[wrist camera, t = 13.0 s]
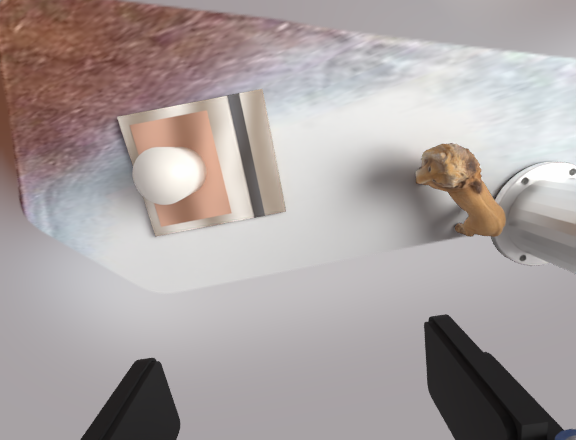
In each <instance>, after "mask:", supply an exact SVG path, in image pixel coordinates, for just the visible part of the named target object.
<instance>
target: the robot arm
mask: <svg viewBox="0 0 576 440" xmlns="http://www.w3.org/2000/svg"><path fill="white" fill-rule="evenodd" d="M495 201H496V202H497V204H498V205H499V206H501V208H502V209H503V210H504V213H505V217H506V222H505V226H504V227H503V230H502V232H501V234H500V235H499V236H496V237H492V236H491V239H492V241H493V244H494V245H495V247H496V248H497V250H498V251H499V252H500V253H501V254H503V255H504V256H505V257H507V258H509V259H510V260H512V261H514V262H517V263H519V264H523V265H529V266H539V265H544V264H549V263H551V264H553V265H556V266H558V267H560V268H563V269H565V270H567V271H570V272H572V273H574V274H576V165H573V164H570V163H564V162H544V163H539V164H535V165H533V166H530V167H528V168H526V169H524V170H522V171H521V172H519V173H517V174H516V175H515V176H514V177H513V178H511V179H510V180H509V181H508V182H507V183H506V185H505V186H504V187H503V188H502V189H501V191H500V192H499V194H498V195H497V197H496V199H495ZM424 329H425V348H426V365H427V383H428V389H429V393H430V395H431V397H432V399H433V401H434V403H435V405H436V406H437V408H438V410H439V412H440V414H441V415H442V417H443V419H444V421H445V422H446V424H447V426H448V428H449V429H450V431H451V433H452V435H453V437H454V438H455V440H576V429H568V430H563V429H562V428H561V427H560V425H559V424H557V422H556V421H555V420H554V419H553V418H552V417H551V416H550V415H549V414H548V413H547V412H546V411H545V410H544V409H543V408H542V407H541V406H540V405H539V404H538V403H537V402H536V401H535V399H534V398H533V397H532V396H531V395H530V394H529V393H528V392H527V391H526V390H525V389H524V388H523V387H522V386H521V385H520V384H519V383H518V382H517V381H516V380H515V379H514V378H513V377H512V376H511V374H510V373H508V371H507V370H506V369H505V368H504V367H503V366H502V365H501V364H500V363H499V362H498V361H497V360H496V359H495V358H494V357H493V356H492V355H491V354H489V353H487V352H482V351H481V349H480V348H479V347H478V346H477V345H476V344H475V343H474V342H473V341H472V340H471V339H470V338H469V337H468V335H467V334H466V333H465V332H464V331H463V330H462V329H461V328H460V327H459V326H458V325H457V324H456V323H455V322H454V320H453V319H452V318H451V317H450V316H449V315H439V316H432V317H430V318H429V322H425V323H424ZM179 430H180V419H179V416H178V413H177V410H176V407H175V404H174V401H173V398H172V395H171V392H170V389H169V386H168V383H167V380H166V377H165V374H164V371H163V368H162V365H161V363H160V362H159V361H156V359H155V358H148V359H141V360H137V361H135V362H134V364H133V365H132V366H131V368H130V369H129V371H128V372H127V374H126V375H125V376H124V378H123V379H122V381H121V382H120V384H119V385H118V387H117V388H116V389H115V391H114V392H113V394H112V395H111V397H110V398H109V400H108V401H107V403H106V404H105V405H104V407H103V408H102V410H101V411H100V413H99V414H98V416H97V417H96V418H95V420H94V421H93V423H92V424H91V426H90V427H89V429H88V430H87V431H86V433H85V434H84V435H83V437H82V438H81V440H176V438H177V436H178V433H179Z"/></svg>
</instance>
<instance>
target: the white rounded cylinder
mask: <svg viewBox="0 0 576 440" xmlns="http://www.w3.org/2000/svg"><path fill="white" fill-rule="evenodd" d="M206 174H207V171H206V166H205V163H204V161H203V159H202V158H201V156H200V155H199V154H198V153H196V152H195V151H194V150H192V149H189V148H186V147H154V148H150V149H147V150H145V151H144V152H142V153H141V154H140V155H139V156H138V157H137V159H136V161H135V163H134V166H133V171H132V175H133V181H134V184H135V186H136V188H137V190H138V191H139V192H140V194H141V195H142V196H143V197H145V198H146V199H147V200H149V201H151V202H153V203H156V204H160V205H169V204H173V203H176V202H178V201H180V200H182V199H183V198H185V197H187V196H189V195H190V194H192V193H194V192H196V191H197V190H199V189H200V188H201V187H202V185H203V184H204V182H205V179H206Z"/></svg>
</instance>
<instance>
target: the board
mask: <svg viewBox="0 0 576 440" xmlns="http://www.w3.org/2000/svg"><path fill="white" fill-rule="evenodd" d="M117 118H118V121H119V125H120V128H121V131H122V134H123V137H124V140H125V143H126V146H127V149H128V153H129V156H130V159H131V162H132V165H133V166H134V163H135V161H136V159H137V157H138V156H139V155H140V154H141V153H142V152H144V151H145V150H147V149H150V148H154V147H186V148H189V149H192V150H194V151H195V152H196V153H198V154H199V155H200V156H201V158H202V159H203V161H204V163H205V166H206V171H207V174H206V179H205V182H204V184H203V185H202V187H201V188H200V189H199V190H197V191H196V192H194V193H192V194H190V195H189V196H187V197H185V198H183V199H182V200H180V201H178V202H176V203H173V204H169V205H160V204H156V203H153V202H151V201H149V200H147V199H146V198H145V197H143V199H144V202H145V205H146V208H147V211H148V215H149V218H150V221H151V224H152V227H153V230H154V233H155V236H161V235H167V234H172V233H177V232H182V231H187V230H192V229H198V228H203V227H208V226H213V225H218V224H223V223H229V222H234V221H239V220H244V219H249V218H256V217H261V216H265V215H270V214H275V213H280V212H286V209H285V204H284V199H283V193H282V188H281V183H280V178H279V173H278V167H277V162H276V157H275V152H274V147H273V142H272V136H271V131H270V126H269V121H268V116H267V111H266V105H265V100H264V95H263V90H262V89H260V90H254V91H249V92H244V93H238V94H233V95H228V96H223V97H218V98H213V99H208V100H203V101H197V102H192V103H187V104H182V105H177V106H171V107H166V108H161V109H156V110H151V111H146V112H140V113H135V114H130V115H125V116H120V117H117Z"/></svg>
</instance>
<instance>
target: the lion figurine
mask: <svg viewBox="0 0 576 440" xmlns="http://www.w3.org/2000/svg"><path fill="white" fill-rule="evenodd" d="M421 160H422V167H420V168H419V169H418V170H417V171H416V172H415V173H416V183H417V184H423V185H429V186H431V187H433V188H435V189H439V190H443V191H447V192H448V193H449V195H450V196H451V197H452V199H453V200H454V201H455V202H456V203H457V204H458V205H459V206H460V208H462V209H463V210H464V211H466V212H467V213H468V215H469V217H468V218H467V219H466V220H465V222H464V223H463V224H462V223H458V224H457V225H456V226H455V230H456V231H457V232H458V233H461V234H465V235H466V236H473V235H474V234H478V235H482V236H492V237H496V236H499V235H500V234H501V232H502V230H503V227H504V226H505V222H506V217H505V213H504V210H503V209H502V208H501V206H499V205H498V204H497V202H496V201H495V200H494V199H493V197H492V195H491V194H490V192H489V190H488V189H487V187H486V185H485V184H484V182H483V181H482V180H481V174H480V172H481V168H479V166H480V164H479V163H478V160H477V159H476V158H475V157H474V154H472V153H471V152H470V151H469V149H465V148H463V147H461V146H459V145H457V144H453V143H450V144H441V145H438V146H436V147H433V148H431V149H429V150H426V151H425V152H424V153H423V154H422V159H421Z"/></svg>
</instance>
